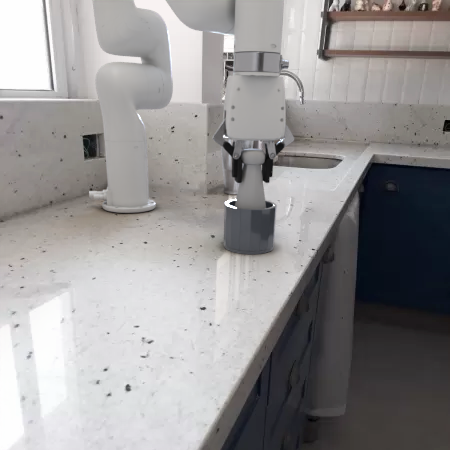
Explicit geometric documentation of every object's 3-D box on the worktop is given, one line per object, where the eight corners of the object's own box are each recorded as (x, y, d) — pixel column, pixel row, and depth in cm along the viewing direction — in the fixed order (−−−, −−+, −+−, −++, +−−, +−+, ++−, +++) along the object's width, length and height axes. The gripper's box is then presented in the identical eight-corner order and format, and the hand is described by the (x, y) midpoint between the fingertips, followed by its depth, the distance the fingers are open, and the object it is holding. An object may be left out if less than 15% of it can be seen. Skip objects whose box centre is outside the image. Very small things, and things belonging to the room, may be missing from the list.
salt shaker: (243, 228, 84) (246, 151, 79) (228, 221, 89) (230, 147, 84) (271, 225, 87) (276, 150, 82) (255, 218, 91) (258, 146, 86)
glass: (253, 197, 131) (259, 76, 119) (213, 195, 133) (215, 75, 121) (259, 190, 141) (265, 77, 129) (221, 188, 143) (224, 76, 131)
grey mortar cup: (228, 255, 85) (230, 210, 82) (220, 240, 93) (221, 198, 90) (279, 253, 86) (282, 209, 83) (266, 239, 95) (268, 198, 91)
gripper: (299, 69, 83) (291, 177, 90) (201, 66, 80) (201, 178, 87) (314, 67, 76) (304, 185, 83) (208, 63, 73) (207, 186, 80)
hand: (251, 180), depth 85 cm, fingers closed on salt shaker, 4 cm apart
